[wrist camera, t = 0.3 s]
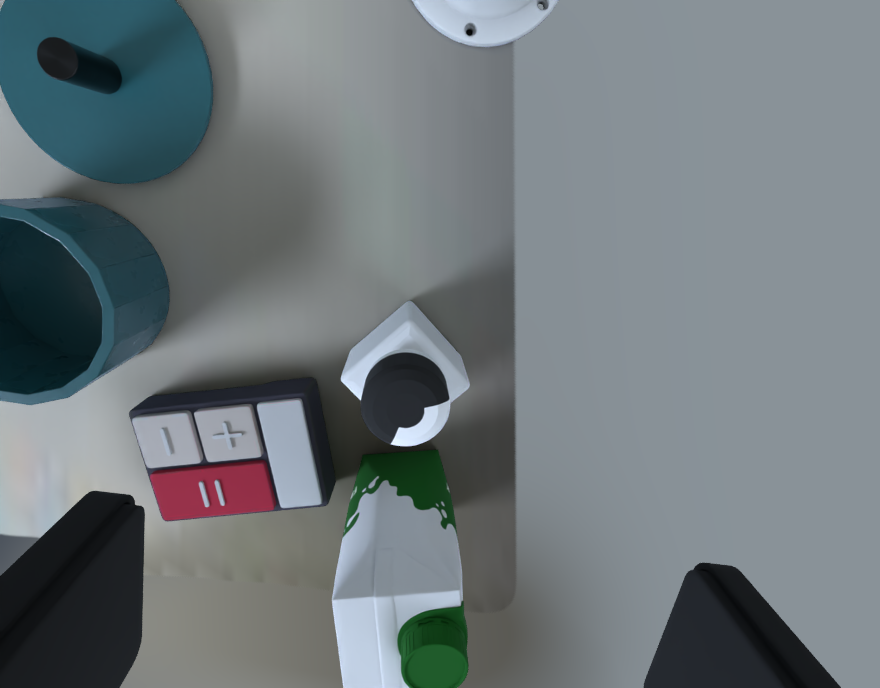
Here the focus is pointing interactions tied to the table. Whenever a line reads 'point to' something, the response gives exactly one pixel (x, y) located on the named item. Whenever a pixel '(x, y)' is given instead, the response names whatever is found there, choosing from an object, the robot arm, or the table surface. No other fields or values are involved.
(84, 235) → the tin
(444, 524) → the milk carton
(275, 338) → the table surface
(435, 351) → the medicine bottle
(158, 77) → the lid
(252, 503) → the calculator
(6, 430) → the table surface
